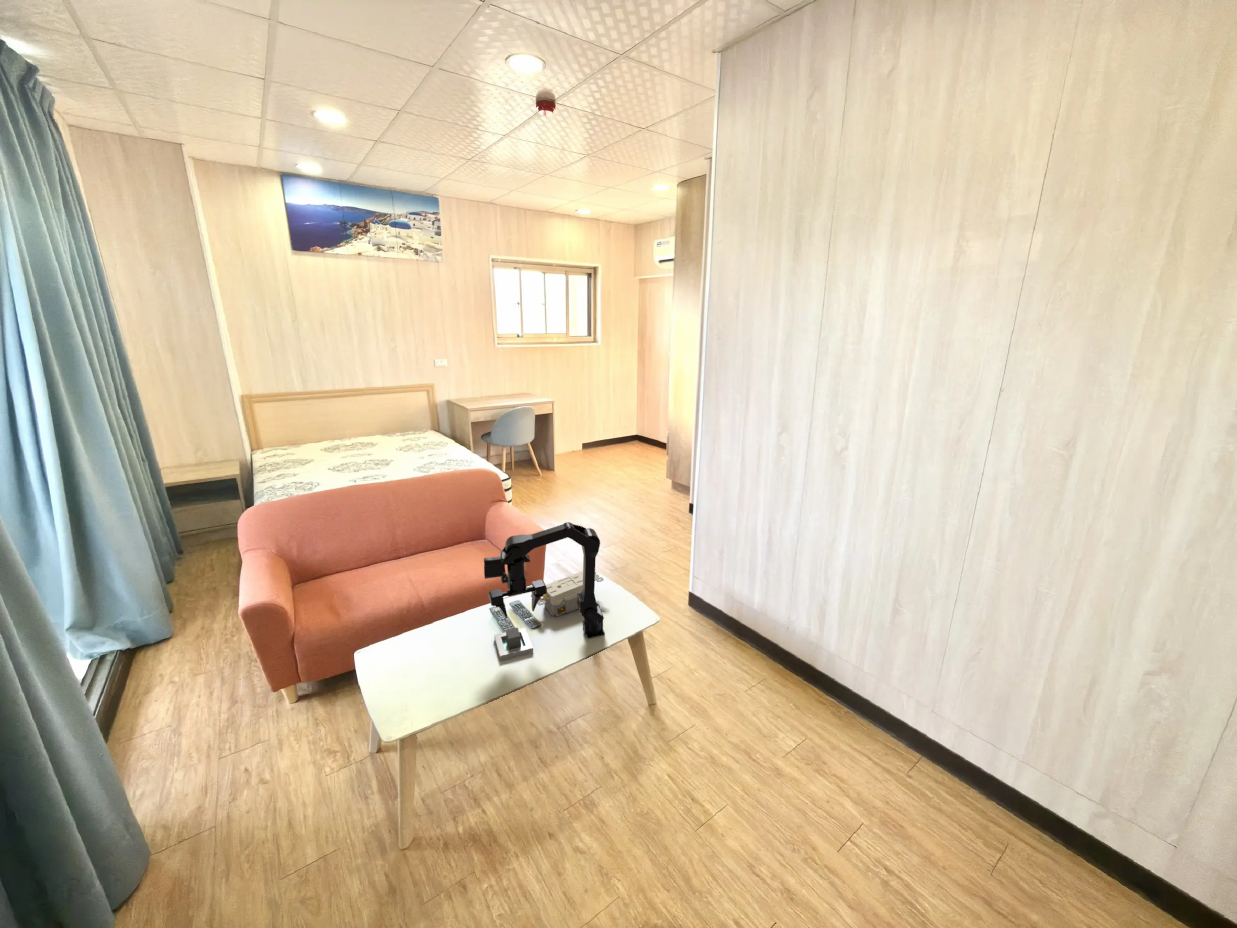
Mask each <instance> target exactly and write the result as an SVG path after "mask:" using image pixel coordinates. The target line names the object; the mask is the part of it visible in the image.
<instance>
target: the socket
mask: <svg viewBox="0 0 1237 928" xmlns="http://www.w3.org/2000/svg"><path fill="white" fill-rule="evenodd" d="M518 630H519V633H520V636H521V647H519V648H515V649H511V650H509V648H508V645H507V638H506V631H504V632H501V633H497V634H494V635H493V636H494V637H493V639H494V642H495V647H496V650H497V654H498V657H499V661H500V662H503V661H507V660H511V659H513V658H518V657H522V656H525V655H526V656H527V655H529V654H533V653H534V648H533V644H532V642H531V639H530V636H529V634H528V631H527V628H526V627H522V628H518Z"/></svg>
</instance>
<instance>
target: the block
mask: <svg viewBox="0 0 1237 928" xmlns="http://www.w3.org/2000/svg"><path fill="white" fill-rule="evenodd" d="M518 629H519V628H518V627H515V628H510V629H506V630H505V632H506V638H507V645H508V648H509V650H511V649H515V648H519V647H521V636H520V633H519V630H518Z"/></svg>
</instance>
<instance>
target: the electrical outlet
mask: <svg viewBox="0 0 1237 928" xmlns="http://www.w3.org/2000/svg"><path fill="white" fill-rule="evenodd" d="M603 581H604V578H603V577H602V576H600V575H599V574H597V571H595V582H597V583H601V582H603ZM545 585H546V587H547V593H546V594H543V597H541V598H540V599H539V601H538V603H537V606H543V605H544V608H546V610H547V611H548V612H549V614H551V616H552V617H556V618H559V616H562V615H564V614H566V613H568V614H569V613H571V612H573V611H576V610H579V608H578V605H577V600H578V596H577V593H581V592H582V590H583V571H578V572H575V573H573V574H571V575H569V576H566V577H563V578H560V579H558V580H555V581H552V582H550V583H546V584H545ZM530 598H532V593H531V594H530Z"/></svg>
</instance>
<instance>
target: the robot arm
mask: <svg viewBox="0 0 1237 928" xmlns="http://www.w3.org/2000/svg"><path fill="white" fill-rule="evenodd" d="M564 539H570V540H571V541H574V542H575V543H577V545H580V546H581V549H582V554H583V559H582V560H583V561H582V564H583V565H582V566H583V568H582V572H583V590H582V592H581V593H577V596H578V600H577V605H578V611H579V614H580V613H581V616H582V617H583V620H582V632H583V633H584V635H585V636H586V637H587V639H591V638H596V637H599V636H603V635H605V634H606V632H605V630H604V619H605V616H604V615H603V612H602V609H601V607H600V604H599V603H598V602H597V599H596V595H595V586H596V585H595V584H596V581H595V575H596V574H595V572H596V558H597V556H598V554H599V550H600V546H601V540H600V538H599V536H598V533H597V532H596V530H595V529H593V528H590V527H588V528H586V527H585V526H583V525H578V524H575V523H572V522H569V521H566V522H564V523H562V524H559V525H557V526H554V527H551V528H547V529H545V530H541V531H538V532H535V533H532V534H516V535H511V536H509V537H507V539H506V540H505V546H504V547H503V548H502V550H501V551H500V556H495V557H492V556H491V557H484V558H483V574H484V580H488V579H493V578H494V579H495V578H500V582H501V584H506V585H507V586H506V587H507V589H508V590H506V591H502V590H501V588H497V589H492V590H489V592H488V599H489V603H490V606H492V607H495V608H500V611H502V613H503V616H504V617H505V618H506V619H507V618H508V613H507V609H506V604H505V602H504V599H507V598H511V597H512V598H513V597H516V596H520V595H523V594H529V593H531V594H532V597H531V610H532V612H535V609H536V608H537V606H538V604H537V603H538V601H539V599H540V598H543V594H546V593H547V587H546V585H547V584H546V583H545V581H544V580H543V579H537V580H533V581H531V585H529V586H527V577H526V569H525V568H526V566H525V564H526V563H530V562H531V558H530V555H528V554H530V553H531V551H533V550H534V549H537V548H540V547H543V546H546V545H550V544H552V543H555V542H558V541H561V540H564ZM506 568H507V572H506Z"/></svg>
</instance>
